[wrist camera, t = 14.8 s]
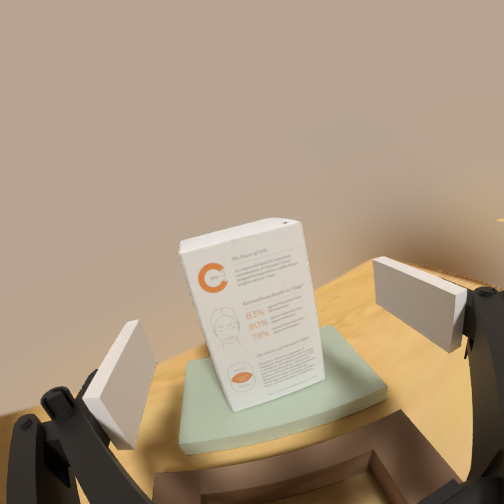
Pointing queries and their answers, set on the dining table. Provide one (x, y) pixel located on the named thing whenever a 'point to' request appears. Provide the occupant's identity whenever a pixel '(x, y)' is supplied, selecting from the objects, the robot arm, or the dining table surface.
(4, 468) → the dining table surface
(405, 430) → the walnut holder
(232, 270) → the small box
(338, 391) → the board
